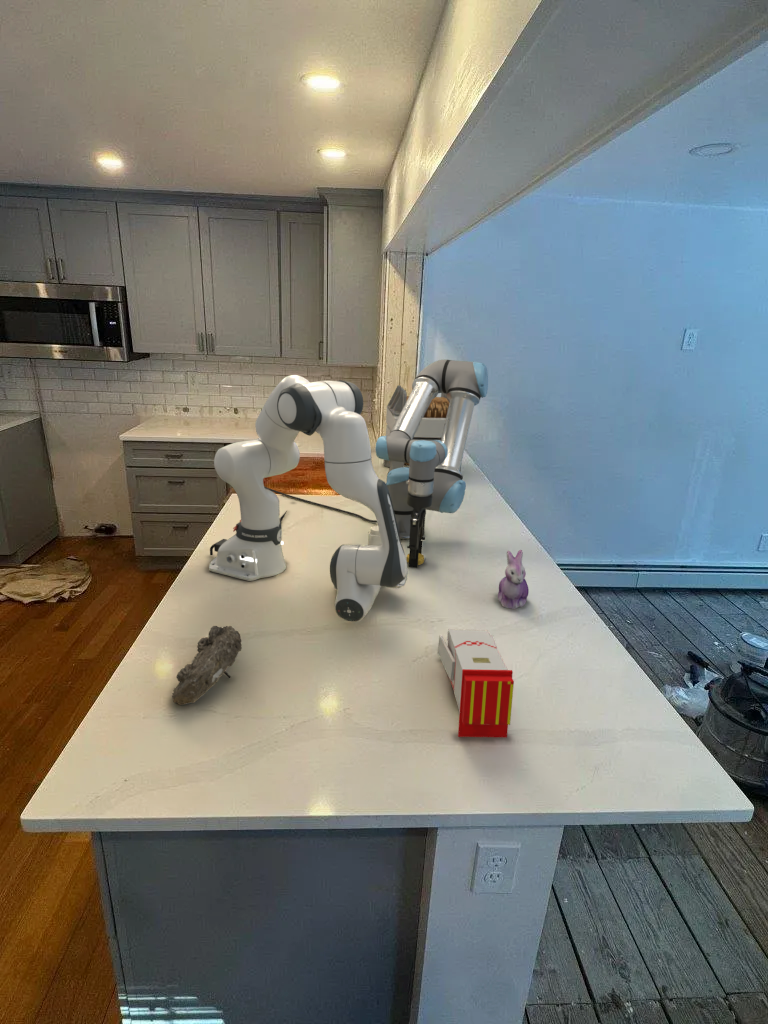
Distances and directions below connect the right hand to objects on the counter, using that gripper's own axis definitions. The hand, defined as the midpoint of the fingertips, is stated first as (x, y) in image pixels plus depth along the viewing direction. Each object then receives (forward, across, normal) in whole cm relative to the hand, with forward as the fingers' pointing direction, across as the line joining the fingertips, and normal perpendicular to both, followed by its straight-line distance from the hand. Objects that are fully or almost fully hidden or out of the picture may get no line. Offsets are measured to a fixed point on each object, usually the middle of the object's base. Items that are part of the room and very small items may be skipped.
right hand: (414, 563), depth 178 cm
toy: (0, +59, +23) cm, 64 cm away
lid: (-2, 0, 0) cm, 2 cm away
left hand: (-7, +17, -8) cm, 20 cm away
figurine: (0, +16, +31) cm, 35 cm away
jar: (0, +18, -8) cm, 19 cm away
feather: (0, -26, -55) cm, 61 cm away
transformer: (0, -102, -18) cm, 104 cm away
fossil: (0, +70, -30) cm, 76 cm away
